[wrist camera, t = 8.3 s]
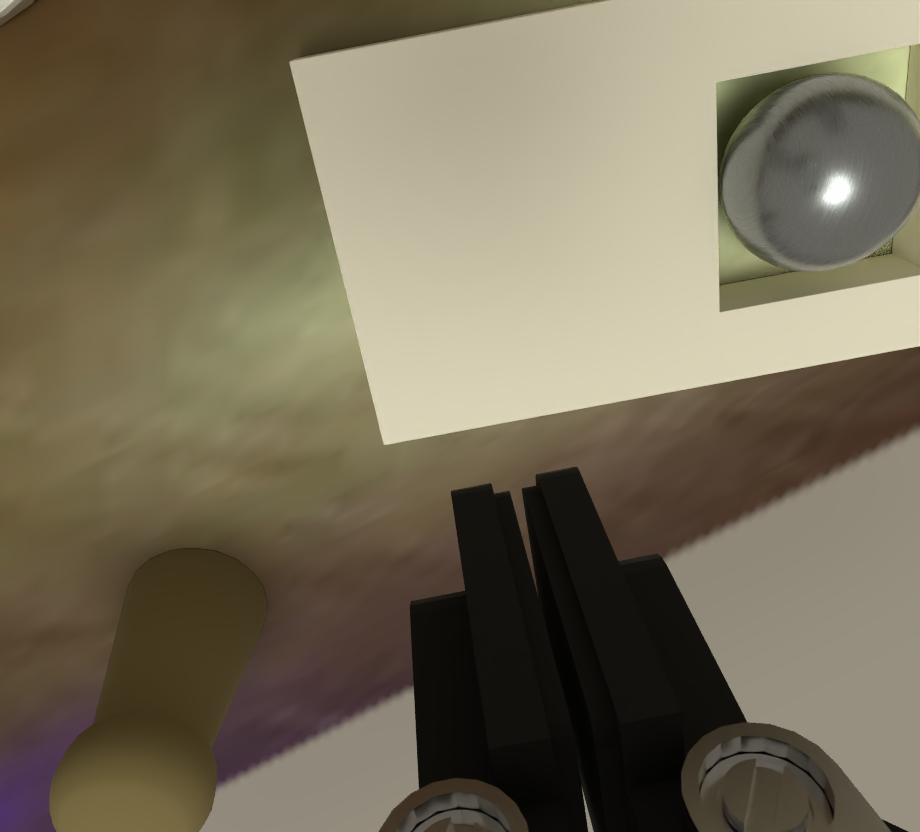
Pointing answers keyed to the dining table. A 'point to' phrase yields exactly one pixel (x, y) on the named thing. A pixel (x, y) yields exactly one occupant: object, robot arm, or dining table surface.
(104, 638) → the dining table surface
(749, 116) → the ball
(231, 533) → the dining table surface
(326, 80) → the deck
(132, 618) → the cork
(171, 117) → the dining table surface
